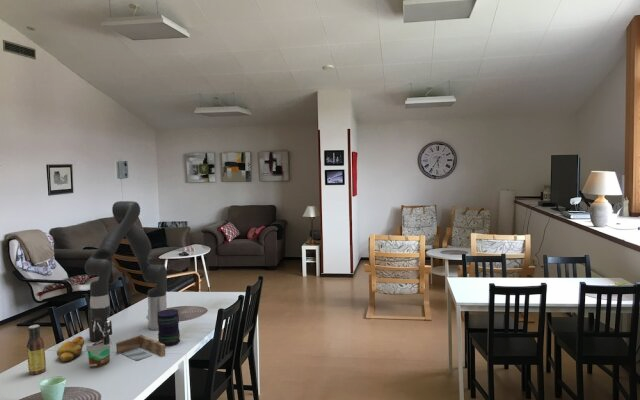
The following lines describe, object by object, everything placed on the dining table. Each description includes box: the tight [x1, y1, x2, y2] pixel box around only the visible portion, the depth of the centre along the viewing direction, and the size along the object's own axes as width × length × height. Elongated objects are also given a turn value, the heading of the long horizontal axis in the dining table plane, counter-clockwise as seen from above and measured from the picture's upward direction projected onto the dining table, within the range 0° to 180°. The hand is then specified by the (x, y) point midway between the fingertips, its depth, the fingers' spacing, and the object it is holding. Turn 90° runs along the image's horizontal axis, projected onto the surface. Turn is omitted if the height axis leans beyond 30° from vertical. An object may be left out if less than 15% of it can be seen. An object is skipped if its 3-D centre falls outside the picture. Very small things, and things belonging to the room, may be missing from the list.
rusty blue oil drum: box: [157, 308, 181, 348], centre depth 225 cm, size 10×10×15 cm
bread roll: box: [56, 336, 85, 362], centre depth 210 cm, size 13×10×8 cm
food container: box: [85, 337, 112, 369], centre depth 202 cm, size 12×6×10 cm, turn 168°
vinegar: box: [87, 308, 103, 343], centre depth 231 cm, size 7×7×20 cm
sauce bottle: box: [26, 324, 47, 375], centre depth 194 cm, size 7×6×20 cm
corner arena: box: [115, 334, 166, 362], centre depth 211 cm, size 20×12×5 cm, turn 51°
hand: (101, 342), depth 202 cm, fingers open, 8 cm apart
